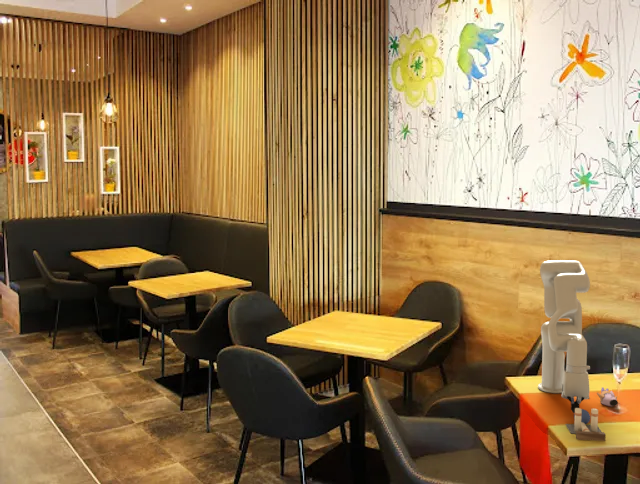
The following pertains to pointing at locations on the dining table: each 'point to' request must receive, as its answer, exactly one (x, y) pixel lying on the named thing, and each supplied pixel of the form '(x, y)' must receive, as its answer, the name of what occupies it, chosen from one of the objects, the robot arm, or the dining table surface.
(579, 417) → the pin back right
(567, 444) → the dining table surface
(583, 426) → the pin front
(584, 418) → the ball
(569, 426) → the pin deck mark
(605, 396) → the toy
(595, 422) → the pin back left
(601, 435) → the backstop
